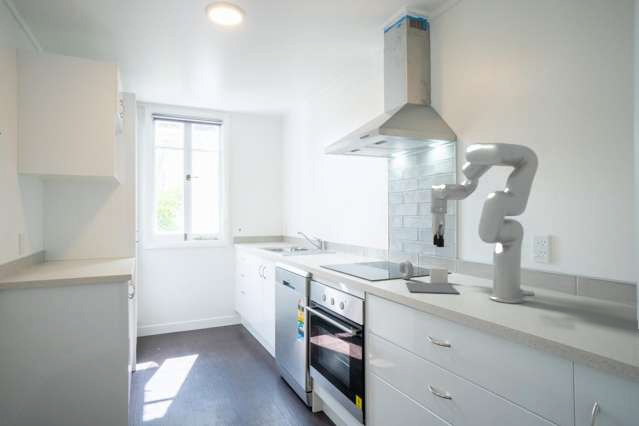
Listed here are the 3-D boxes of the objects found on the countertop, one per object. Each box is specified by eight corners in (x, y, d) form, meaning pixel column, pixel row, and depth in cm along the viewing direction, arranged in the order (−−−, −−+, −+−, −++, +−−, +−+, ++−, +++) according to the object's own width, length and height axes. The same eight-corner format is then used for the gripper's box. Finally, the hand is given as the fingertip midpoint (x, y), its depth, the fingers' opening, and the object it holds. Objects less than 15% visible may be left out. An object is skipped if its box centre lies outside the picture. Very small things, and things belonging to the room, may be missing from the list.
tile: (446, 282, 178) (446, 268, 178) (447, 283, 176) (447, 268, 176) (429, 282, 179) (429, 267, 179) (430, 282, 177) (430, 268, 177)
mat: (449, 284, 172) (449, 283, 172) (459, 294, 152) (459, 292, 152) (405, 283, 175) (405, 282, 175) (410, 292, 155) (410, 291, 155)
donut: (396, 278, 189) (396, 258, 189) (402, 277, 191) (402, 258, 191) (409, 281, 180) (409, 261, 180) (415, 280, 182) (415, 260, 182)
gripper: (428, 210, 186) (427, 244, 187) (433, 210, 169) (433, 247, 169) (443, 210, 185) (443, 244, 185) (450, 210, 168) (450, 248, 168)
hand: (438, 246), depth 177 cm, fingers open, 9 cm apart
